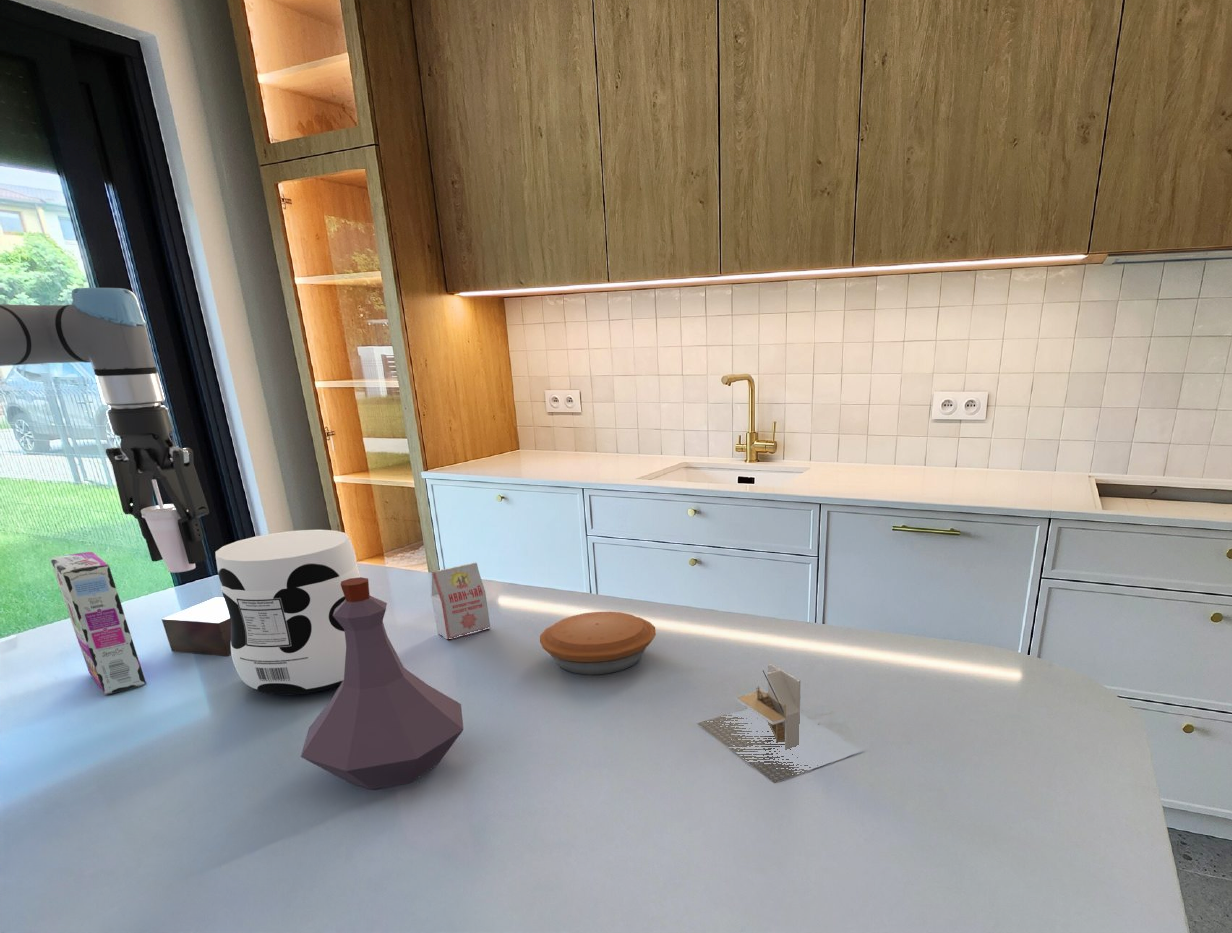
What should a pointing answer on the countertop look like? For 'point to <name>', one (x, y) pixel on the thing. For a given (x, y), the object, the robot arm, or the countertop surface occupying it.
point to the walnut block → (200, 629)
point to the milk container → (287, 608)
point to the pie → (597, 641)
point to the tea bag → (459, 601)
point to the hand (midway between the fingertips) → (179, 560)
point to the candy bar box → (98, 621)
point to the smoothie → (167, 533)
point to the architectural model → (781, 717)
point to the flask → (379, 706)
